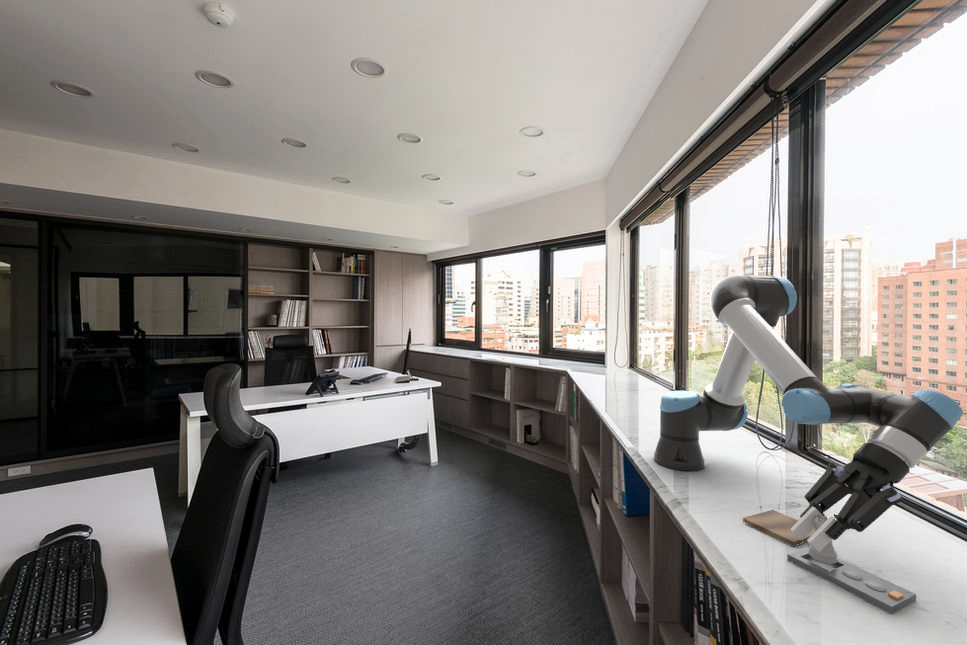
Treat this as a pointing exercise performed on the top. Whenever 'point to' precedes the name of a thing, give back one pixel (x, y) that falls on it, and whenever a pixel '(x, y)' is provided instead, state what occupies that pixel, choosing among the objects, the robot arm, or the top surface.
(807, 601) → the top surface
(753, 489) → the top surface
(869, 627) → the top surface
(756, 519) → the walnut pad
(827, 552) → the rook chess piece
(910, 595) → the gray slotted board
